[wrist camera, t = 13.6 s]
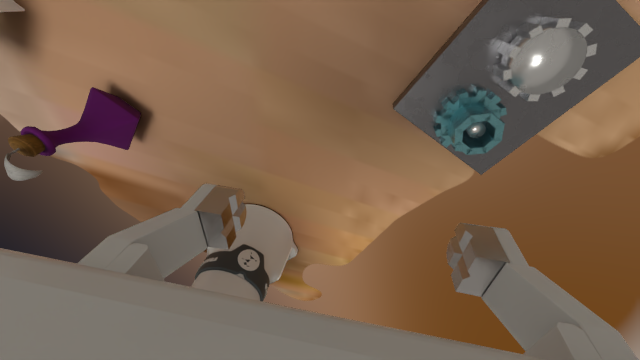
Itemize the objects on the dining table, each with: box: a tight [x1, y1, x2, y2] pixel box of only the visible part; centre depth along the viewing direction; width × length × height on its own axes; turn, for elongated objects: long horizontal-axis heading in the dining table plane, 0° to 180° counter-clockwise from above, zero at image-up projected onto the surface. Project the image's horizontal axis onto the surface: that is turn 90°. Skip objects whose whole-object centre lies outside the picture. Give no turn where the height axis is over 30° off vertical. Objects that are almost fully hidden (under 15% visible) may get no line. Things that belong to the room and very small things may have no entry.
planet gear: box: [433, 87, 507, 155], centre depth 31 cm, size 8×8×5 cm
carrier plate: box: [393, 0, 640, 174], centre depth 30 cm, size 20×16×6 cm
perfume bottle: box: [4, 87, 141, 181], centre depth 37 cm, size 8×8×18 cm
